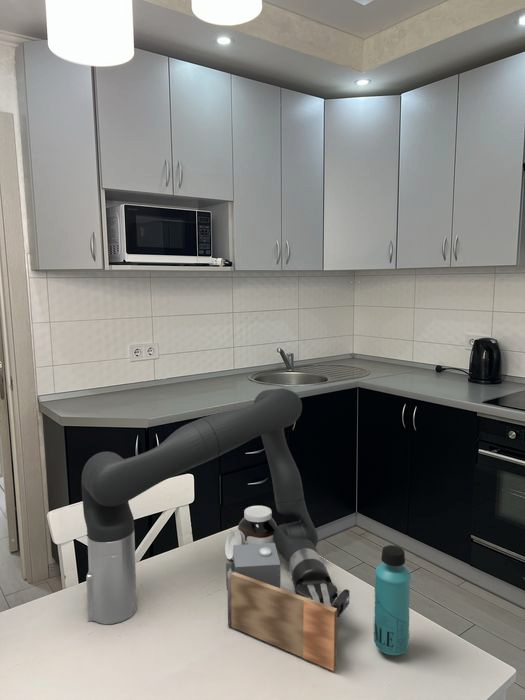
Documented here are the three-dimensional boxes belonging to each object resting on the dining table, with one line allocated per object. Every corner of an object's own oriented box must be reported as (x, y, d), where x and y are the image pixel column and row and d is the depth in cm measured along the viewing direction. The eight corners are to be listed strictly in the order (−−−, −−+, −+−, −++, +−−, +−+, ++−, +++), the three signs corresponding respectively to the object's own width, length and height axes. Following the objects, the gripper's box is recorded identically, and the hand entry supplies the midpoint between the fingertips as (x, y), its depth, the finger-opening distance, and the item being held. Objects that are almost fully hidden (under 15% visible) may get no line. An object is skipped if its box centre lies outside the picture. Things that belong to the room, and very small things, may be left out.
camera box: (227, 624, 104) (227, 563, 102) (226, 598, 112) (225, 541, 111) (280, 620, 105) (280, 560, 103) (274, 594, 113) (274, 539, 112)
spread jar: (283, 556, 130) (283, 512, 128) (251, 574, 122) (251, 527, 120) (249, 540, 138) (249, 498, 137) (217, 556, 130) (216, 512, 129)
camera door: (226, 625, 103) (226, 572, 101) (230, 621, 104) (229, 569, 102) (333, 671, 90) (334, 612, 89) (336, 667, 91) (337, 608, 90)
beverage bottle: (410, 644, 98) (413, 543, 95) (407, 668, 91) (411, 560, 89) (374, 636, 100) (377, 537, 97) (370, 659, 94) (372, 554, 91)
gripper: (278, 559, 107) (292, 611, 90) (340, 555, 109) (366, 605, 92) (278, 593, 108) (292, 651, 91) (339, 589, 110) (365, 644, 93)
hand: (329, 628), depth 92 cm, fingers closed
